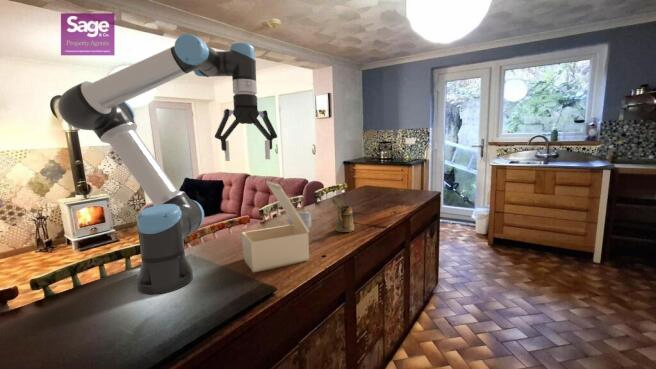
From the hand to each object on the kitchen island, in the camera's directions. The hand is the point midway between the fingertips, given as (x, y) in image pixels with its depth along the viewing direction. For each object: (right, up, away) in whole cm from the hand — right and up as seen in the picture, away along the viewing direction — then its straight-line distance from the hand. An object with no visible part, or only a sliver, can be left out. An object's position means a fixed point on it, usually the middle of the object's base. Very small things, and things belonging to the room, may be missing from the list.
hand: (248, 160), depth 103 cm
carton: (+8, -35, +8) cm, 37 cm away
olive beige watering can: (+34, -30, +40) cm, 60 cm away
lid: (+12, -16, +7) cm, 21 cm away
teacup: (+14, -30, +44) cm, 56 cm away
